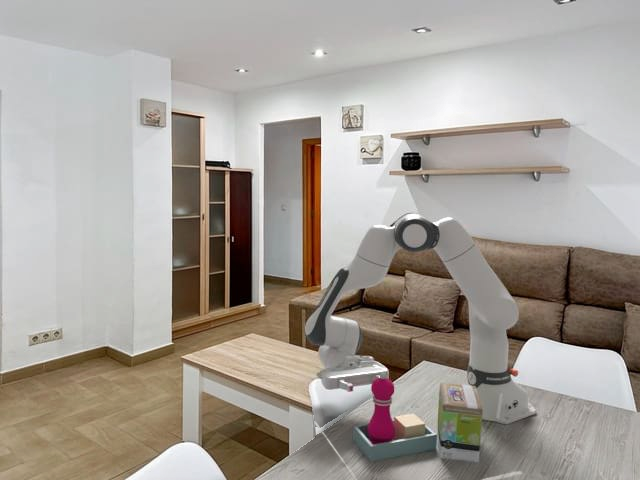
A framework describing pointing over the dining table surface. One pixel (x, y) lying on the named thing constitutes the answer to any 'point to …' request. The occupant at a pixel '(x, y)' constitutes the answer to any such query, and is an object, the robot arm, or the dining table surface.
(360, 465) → the dining table surface
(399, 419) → the tan wooden cube
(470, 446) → the tea box
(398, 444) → the box
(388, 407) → the pepper mill
